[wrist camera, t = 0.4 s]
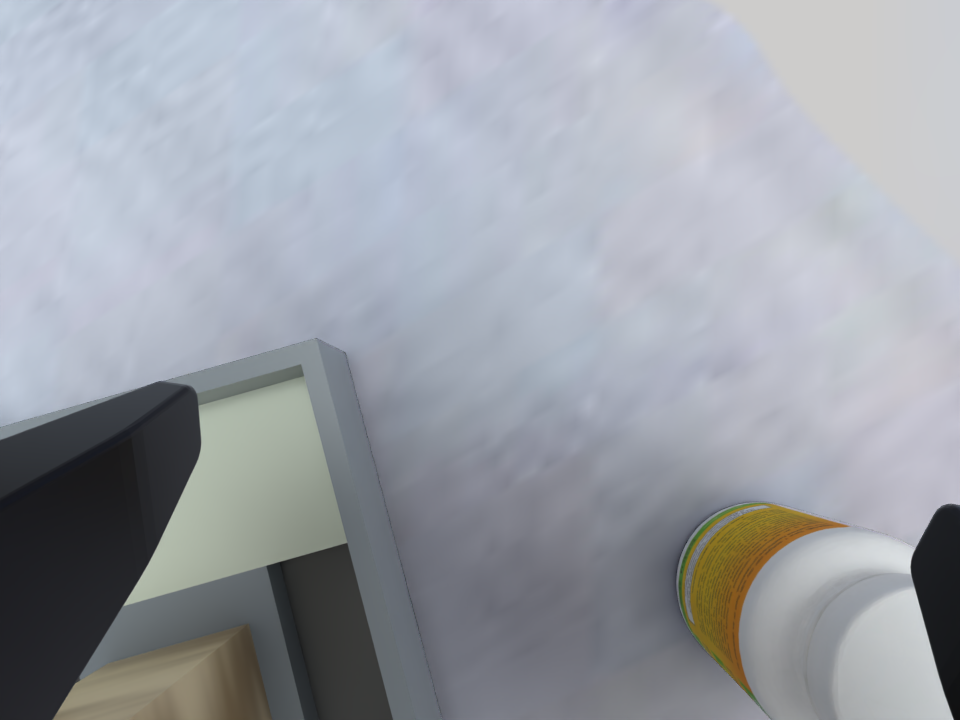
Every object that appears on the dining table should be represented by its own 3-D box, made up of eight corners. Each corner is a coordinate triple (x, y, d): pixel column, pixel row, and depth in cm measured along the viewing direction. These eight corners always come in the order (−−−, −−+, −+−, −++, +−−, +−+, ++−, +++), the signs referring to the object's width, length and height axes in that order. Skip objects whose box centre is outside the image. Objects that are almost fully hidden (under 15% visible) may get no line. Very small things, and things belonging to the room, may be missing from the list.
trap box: (489, 897, 23) (488, 996, 19) (61, 1019, 23) (-29, 1143, 19) (345, 352, 25) (316, 338, 21) (-55, 464, 25) (-160, 472, 21)
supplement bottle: (655, 643, 24) (766, 793, 14) (693, 481, 24) (826, 518, 14) (819, 689, 23) (1047, 873, 14) (855, 524, 24) (1099, 590, 14)
